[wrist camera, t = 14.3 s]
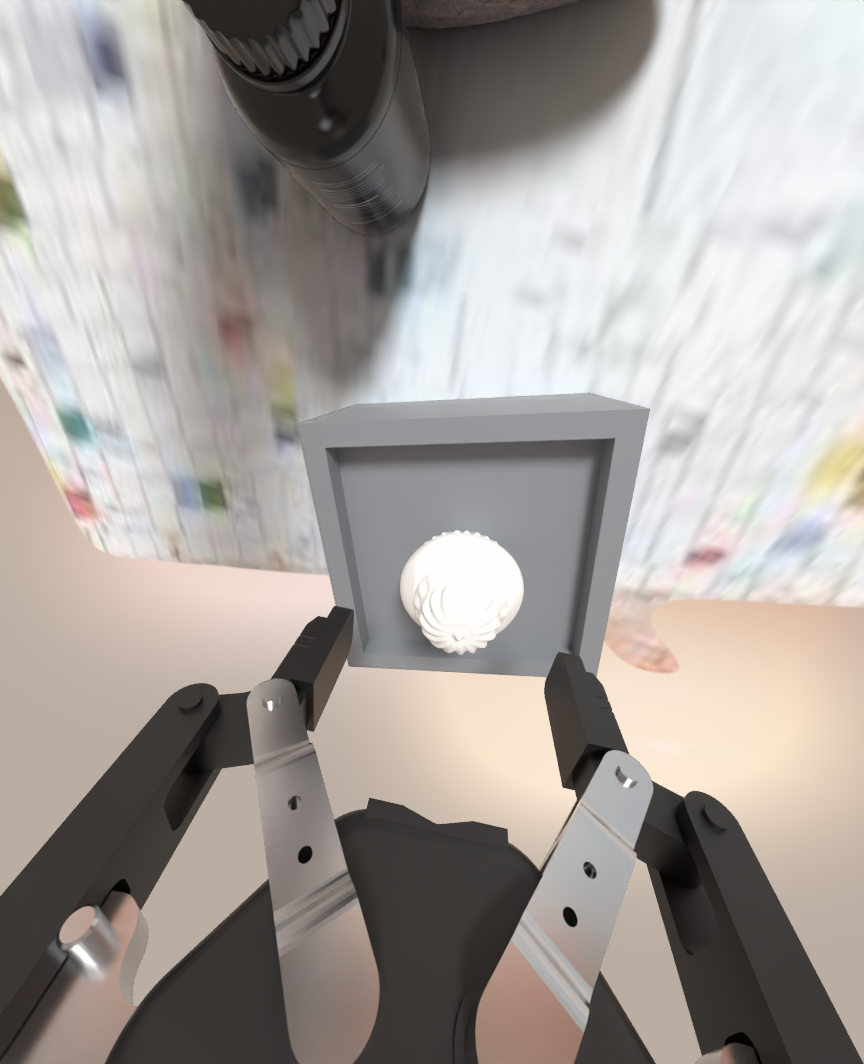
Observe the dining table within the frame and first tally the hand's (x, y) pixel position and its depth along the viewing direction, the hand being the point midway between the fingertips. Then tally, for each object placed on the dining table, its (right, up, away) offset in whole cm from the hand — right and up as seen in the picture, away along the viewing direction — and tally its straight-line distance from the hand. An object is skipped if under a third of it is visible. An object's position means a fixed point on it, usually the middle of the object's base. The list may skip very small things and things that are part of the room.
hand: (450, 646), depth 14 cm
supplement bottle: (-4, +25, +6) cm, 26 cm away
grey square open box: (+2, +7, +14) cm, 16 cm away
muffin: (+1, +3, +7) cm, 8 cm away
